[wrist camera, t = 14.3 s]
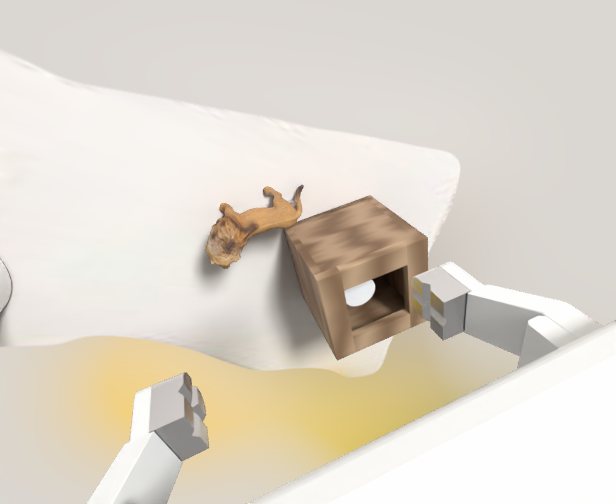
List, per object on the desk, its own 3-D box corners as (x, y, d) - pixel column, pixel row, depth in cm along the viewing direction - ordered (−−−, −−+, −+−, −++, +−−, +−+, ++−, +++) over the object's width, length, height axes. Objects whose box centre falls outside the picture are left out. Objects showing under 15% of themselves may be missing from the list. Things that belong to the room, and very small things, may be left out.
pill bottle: (348, 264, 55) (378, 302, 47) (315, 275, 53) (341, 315, 45) (346, 234, 51) (378, 269, 43) (311, 244, 50) (338, 282, 42)
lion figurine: (213, 247, 46) (221, 283, 39) (192, 215, 43) (197, 249, 36) (308, 199, 48) (332, 226, 40) (294, 165, 44) (318, 188, 37)
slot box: (303, 297, 56) (337, 360, 45) (282, 226, 48) (317, 281, 37) (378, 267, 59) (428, 320, 47) (370, 195, 51) (427, 237, 39)
